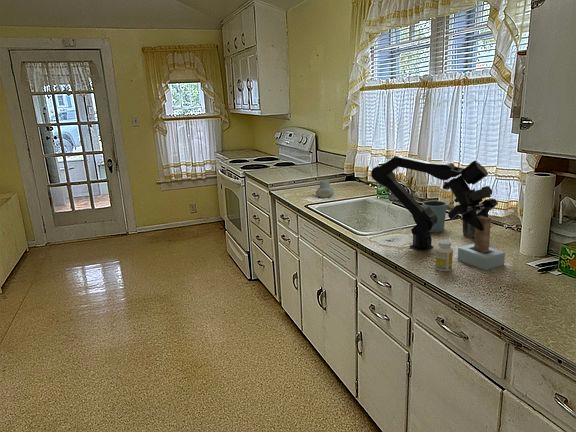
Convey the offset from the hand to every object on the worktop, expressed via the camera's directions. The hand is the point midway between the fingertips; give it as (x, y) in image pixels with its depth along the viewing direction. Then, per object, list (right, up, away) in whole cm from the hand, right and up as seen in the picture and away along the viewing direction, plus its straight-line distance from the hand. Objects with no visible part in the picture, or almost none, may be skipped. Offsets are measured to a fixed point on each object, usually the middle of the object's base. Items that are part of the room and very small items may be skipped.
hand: (486, 229), depth 145 cm
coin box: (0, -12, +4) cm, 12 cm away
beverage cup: (+8, -4, +33) cm, 34 cm away
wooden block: (0, -7, +3) cm, 8 cm away
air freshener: (-45, +16, +116) cm, 126 cm away
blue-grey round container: (-3, -2, +43) cm, 43 cm away
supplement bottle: (-14, -14, +1) cm, 20 cm away
